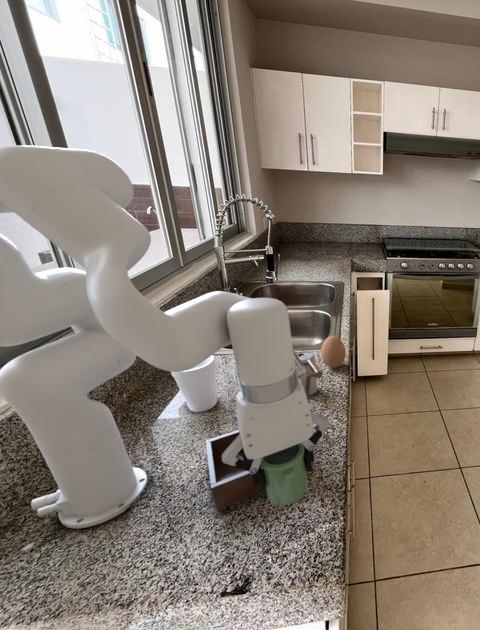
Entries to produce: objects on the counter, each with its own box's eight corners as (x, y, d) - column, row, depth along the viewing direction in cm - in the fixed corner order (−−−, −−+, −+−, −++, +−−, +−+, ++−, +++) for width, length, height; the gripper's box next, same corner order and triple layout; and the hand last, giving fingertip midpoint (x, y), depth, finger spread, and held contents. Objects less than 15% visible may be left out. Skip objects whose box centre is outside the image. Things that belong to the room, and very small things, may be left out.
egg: (350, 362, 113) (348, 333, 109) (340, 374, 107) (338, 343, 102) (329, 359, 115) (326, 330, 111) (317, 371, 108) (314, 340, 104)
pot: (271, 518, 53) (263, 479, 49) (260, 479, 59) (253, 443, 56) (316, 497, 56) (311, 460, 53) (301, 463, 63) (296, 427, 60)
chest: (218, 514, 62) (210, 488, 60) (211, 464, 73) (205, 440, 70) (305, 476, 70) (302, 452, 68) (288, 436, 81) (285, 414, 79)
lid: (306, 376, 63) (330, 373, 66) (287, 346, 74) (309, 344, 76) (300, 451, 68) (322, 445, 70) (282, 413, 78) (303, 409, 81)
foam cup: (185, 420, 85) (173, 376, 80) (179, 403, 91) (167, 360, 87) (227, 405, 91) (218, 363, 86) (219, 390, 97) (209, 349, 92)
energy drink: (310, 385, 101) (306, 349, 96) (321, 392, 98) (317, 355, 93) (294, 393, 97) (289, 355, 92) (304, 400, 94) (300, 362, 89)
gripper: (320, 356, 57) (328, 441, 64) (198, 388, 48) (223, 482, 55) (336, 377, 51) (343, 467, 58) (202, 417, 42) (229, 519, 49)
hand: (285, 474), depth 56 cm, fingers closed on pot, 6 cm apart
